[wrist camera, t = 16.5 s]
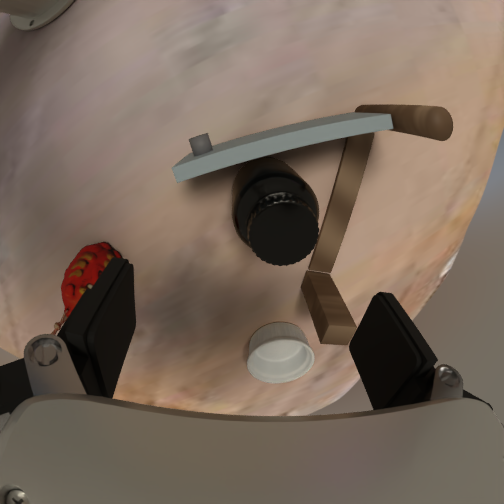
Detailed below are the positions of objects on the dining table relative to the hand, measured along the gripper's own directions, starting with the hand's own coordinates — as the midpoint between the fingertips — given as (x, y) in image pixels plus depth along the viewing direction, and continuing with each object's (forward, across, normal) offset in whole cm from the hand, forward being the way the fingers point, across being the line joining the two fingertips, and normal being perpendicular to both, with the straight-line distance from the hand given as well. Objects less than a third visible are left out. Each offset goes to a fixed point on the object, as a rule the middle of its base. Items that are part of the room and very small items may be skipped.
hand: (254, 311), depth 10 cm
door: (+20, -2, -6) cm, 21 cm away
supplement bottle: (+21, -3, 0) cm, 21 cm away
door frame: (+21, -11, 0) cm, 23 cm away
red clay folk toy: (+21, +15, +13) cm, 29 cm away
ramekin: (+21, -9, +21) cm, 31 cm away
